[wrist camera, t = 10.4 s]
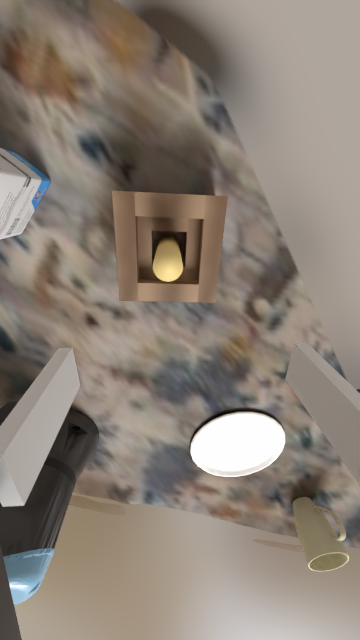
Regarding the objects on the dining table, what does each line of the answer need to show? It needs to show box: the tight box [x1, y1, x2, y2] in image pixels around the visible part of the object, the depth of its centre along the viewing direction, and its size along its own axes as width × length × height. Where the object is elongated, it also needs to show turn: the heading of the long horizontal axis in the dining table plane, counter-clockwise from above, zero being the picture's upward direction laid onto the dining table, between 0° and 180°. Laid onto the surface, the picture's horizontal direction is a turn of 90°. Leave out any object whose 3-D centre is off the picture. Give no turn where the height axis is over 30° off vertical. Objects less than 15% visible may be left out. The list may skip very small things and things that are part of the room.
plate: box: [190, 411, 285, 477], centre depth 53 cm, size 21×21×1 cm
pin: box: [153, 235, 183, 282], centre depth 28 cm, size 3×3×12 cm
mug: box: [293, 497, 349, 571], centre depth 58 cm, size 11×10×12 cm
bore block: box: [112, 191, 227, 303], centre depth 31 cm, size 12×12×7 cm
